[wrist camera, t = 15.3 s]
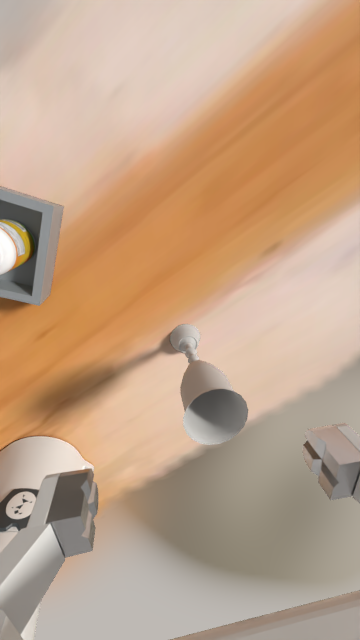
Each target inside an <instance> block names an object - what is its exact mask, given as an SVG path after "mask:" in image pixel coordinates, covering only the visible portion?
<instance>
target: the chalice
mask: <svg viewBox="0 0 360 640" xmlns="http://www.w3.org/2000/svg"><path fill="white" fill-rule="evenodd" d="M199 341H200V332H199V330H198V329H197V328H196V327H195V326H193V325H190V324H182V325H180V326H178V327H176V328H175V329H174V330H173V331H172V333H171V336H170V342H171V345H172V346H173V348H174V349H176V350H178V351H180V352H181V353H185V355H186V357H187V358H189V359H188V362H189V363H190V364H189V366H188V368H187V369H186V371H185V373H184V376H183V379H182V384H181V397H182V401H183V406H184V410H185V414H184V417H183V426H184V429H185V431H186V433H187V435H188V436H189V437H190V438H191V439H192V440H194V441H196V442H198V443H201V444H208V445H212V444H220V443H222V442H225V441H228V440H230V439H231V438H233V437H234V436H235V435H237V434H238V433H239V432H240V430H241V429H242V428H243V427H244V425H245V422H246V420H247V416H248V408H247V404H246V402H245V400H244V399H243V398H242V396H241V395H239V394H237V393H236V392H234V390H233V388H232V386H231V384H230V382H229V380H228V379H227V377H226V375H225V374H224V373H223V371H221V370H220V369H218V368H217V367H215V366H214V365H212V364H210V363H207V362H204V361H201V360H199V357H198V356H197V355H196V354H197V351H196V348H197V347H198V344H199Z"/></svg>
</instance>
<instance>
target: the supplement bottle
mask: <svg viewBox="0 0 360 640" xmlns="http://www.w3.org/2000/svg"><path fill="white" fill-rule="evenodd" d="M35 249H36V244H35V239H34V237H33V235H32V233H31V232H30V231H29V229H28V228H27V227H25V226H24V225H23V224H21V223H19V222H17V221H14V220H9V219H3V220H0V275H2V274H4V273H6V272H8V271H10V270H12V269H14V268H16V267H18V266H20V265H22V264H24V263H26V262H27V261H29V260H30V259H31V258H32V257H33V255H34V253H35Z"/></svg>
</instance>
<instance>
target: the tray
mask: <svg viewBox="0 0 360 640" xmlns="http://www.w3.org/2000/svg"><path fill="white" fill-rule="evenodd" d="M63 208H64V206H61V205H58V204H55V203H52V202H48V201H45V200H42V199H39V198H36V197H33V196H30V195H27V194H23V193H20V192H17V191H14V190H11V189H8V188H5V187H1V186H0V220H3V219H9V220H14V221H17V222H19V223H21V224H23V225H24V226H25V227H27V228H28V229H29V231H30V232H31V233H32V235H33V237H34V239H35V244H36V249H35V253H34V255H33V257H32V258H31V259H30V260H29V261H27V262H26V263H24V264H22V265H20V266H18V267H16V268H14V269H12V270H10V271H8V272H6V273H4V274H2V275H0V297H3V298H8V299H12V300H17V301H21V302H26V303H30V304H35V305H39V306H40V305H41V304H42V303H43V302H44V301H45V300H46V298H47V297H48V296H49V295H50V292H51V286H52V279H53V273H54V266H55V260H56V253H57V247H58V240H59V234H60V227H61V221H62V214H63Z"/></svg>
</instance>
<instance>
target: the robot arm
mask: <svg viewBox="0 0 360 640" xmlns="http://www.w3.org/2000/svg"><path fill="white" fill-rule="evenodd" d="M305 437H306V439H307V441H306V443H305V444H304V445H303V456H304V460H305V462H306V464H307V466H308V467H309V469H310V470H311V471H312V472H313V473H315V474H316V475H318V482H319V484H320V486H321V487H322V488H323V490H324V491H325V493H326V494H327V496H328V497H329V499H330V500H334V499H339V498H345V497H351V496H353V498H354V499H355V500H357V501H358V502H359V503H360V436H359V435H358V434H357V433H356V432H355V431H354V430H353V429H352V428H351V427H350V426H349V425H348V424H346V423H340V424H335V425H327V426H322V427H317V428H312V429H308V430H307V431H306V433H305ZM93 472H94V466H93V465H92V464H90V463H89V462H87V461H85V460H84V459H83V458H82V457H81V455H80V454H79V452H78V451H77V450H76V449H75V448H74V447H73V446H72V445H70V444H69V443H67V442H65V441H63V440H60V439H57V438H53V437H45V436H34V437H27V438H23V439H20V440H17V441H15V442H13V443H11V444H10V445H8V446H7V447H6V448H5V449H3V450H2V451H0V640H34V636H35V630H36V624H37V619H38V614H39V610H40V605H41V601H42V598H43V596H44V595H45V593H46V591H47V590H48V588H49V586H50V584H51V583H52V581H53V579H54V578H55V576H56V574H57V572H58V571H59V569H60V567H61V566H62V564H63V562H64V561H65V558H66V557H70V556H73V555H77V554H82V553H86V552H90V551H92V550H93V542H94V535H95V525H94V521H93V519H94V517H95V516H96V514H97V510H98V488H97V484H96V483H95V482H93V477H94V474H93ZM170 640H360V590H359V591H354V592H351V593H347V594H343V595H339V596H335V597H332V598H328V599H324V600H320V601H316V602H312V603H309V604H305V605H301V606H297V607H293V608H289V609H285V610H282V611H278V612H274V613H270V614H266V615H262V616H259V617H255V618H251V619H247V620H243V621H239V622H235V623H232V624H228V625H224V626H220V627H216V628H212V629H209V630H205V631H201V632H197V633H193V634H189V635H186V636H182V637H178V638H174V639H170Z"/></svg>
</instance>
